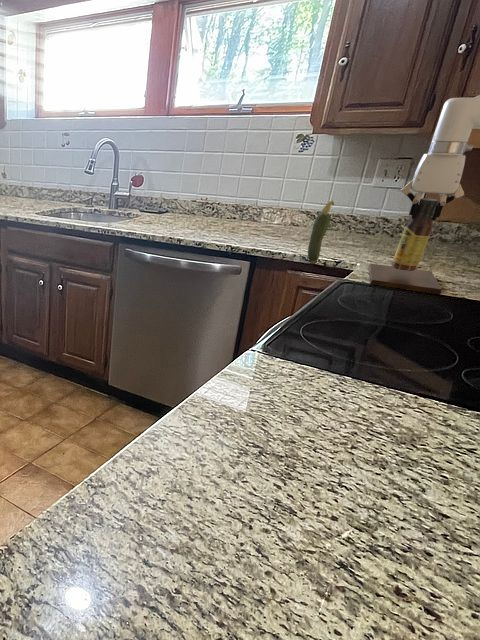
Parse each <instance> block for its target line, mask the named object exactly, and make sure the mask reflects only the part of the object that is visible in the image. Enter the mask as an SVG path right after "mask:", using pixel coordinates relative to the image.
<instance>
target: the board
mask: <svg viewBox="0 0 480 640" xmlns="http://www.w3.org/2000/svg"><path fill="white" fill-rule="evenodd" d="M367 269H368V276H369V277H368V278H369V284H371V286H375V285H379V286H378V287H383V286H386V288H390V287H393V288H392V289H397V288H400V289H399V290H404V289H406V290H405V291H411V290H412V292H419V293H425V292H426V294H434V295H441V294H442V291H443V288H442V287H441V284H440V283H439V281H438V280H437V278H436V276H435V275H434V273H433V271H432V270H427V269H418V268H416V269H415V270H413V271H408V270H401V269H396V268H394V267H392V265H386V264H378V263H369V264H368V267H367Z"/></svg>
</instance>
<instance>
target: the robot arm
mask: <svg viewBox="0 0 480 640" xmlns="http://www.w3.org/2000/svg"><path fill="white" fill-rule="evenodd" d="M473 130H480V94H479V95H476V96H474V97H451V98H449V99H447V100H445V102H444V104H443V106H442V109H441V112H440V115H439V118H438V122H437V123H436V127H435V131H434V133H433V136H432V139H431V142H430V145H429V148H428V150H427V153H423V155H422V156H421V158H420V159H419V162H418V165H417V167H416V170H415V172H414V175H413V177H412V180H410V181H409V182H408V183H407V184H406V185H404V186H403V187H402V188H401V189H400V192H401V193H403V194H404V195H405V196H407V198H408V199H409V200H410V202H411V206H410V209H409V213H408V215H409V216H410V219H414V218H415V216H416V213H417V210H418V207H419V202H420V199H421V197H422V196H423V194H438V195H439V198H438V203H437V206H436V207H435V209H434V211H433V215H432V216H431V218H432V221H436V220H437V218H440V216H441V213H442V210H443V208H444V206H446V205H447V204H449V203H451V202H452V201H454V200H457V199H459V198H461V197H464V196H465V191H464V189H463V187H462V184H461V183H460V182H461V179H462V176H463V173H464V167H465V163H466V154H465V152H468V151H472V150H473V148H474V144H469V143H468V142H469V139H470V136H471V133H472V131H473ZM410 190H412V191H413V192H415V194H414V193H412V192H411V191H410Z"/></svg>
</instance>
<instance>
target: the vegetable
mask: <svg viewBox="0 0 480 640" xmlns="http://www.w3.org/2000/svg"><path fill="white" fill-rule="evenodd" d="M334 205H335V202H334V200H330V201H328V202H327V203H326V204H325V206H324V207H323V208H322V210H321V212H320V213H319V214H318V215H317V216H316V217H315V220H314V223H313V225H312V230H311V234H310V238H309V242H308V247H307V258H308V260H309V262H310V263H311V264H313V265H314V264H315V263H317V262H318V259H320V253H321V247H322V243H323V239H324V237H325V236H326V233H327V231H328V229H329V227H330V224H331V220H332V217H331V214H330V213H329V212H330V211H331V208H332V206H334Z"/></svg>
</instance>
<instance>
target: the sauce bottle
mask: <svg viewBox="0 0 480 640" xmlns="http://www.w3.org/2000/svg"><path fill="white" fill-rule="evenodd" d="M438 202H439V199H435V198H426V197H423V198H420V199H419V203H418V204H419V207H418V210H417V213H416V216H415V218H414V219H412V218H410V220H409V221H408V223H407V224H406V225H405V226H404V229H403V232H402V235H401V237H400V240H399V242H398V245H397V247H396V251H395V254H394V256H393V259H392V263H391V266H392V267H394V268H396V269H401V270H408V271H413V270H415V269H418V268H417V267H418V266H419V264H420V261H421V259H422V256H423V254H424V252H425V249H426V246H427V244H428V242H429V239H430V235H431V232H432V230H433V227H434V220H432V218H431V217H432V215H433V211H434V209H435V207H436V206H437V204H438Z"/></svg>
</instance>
